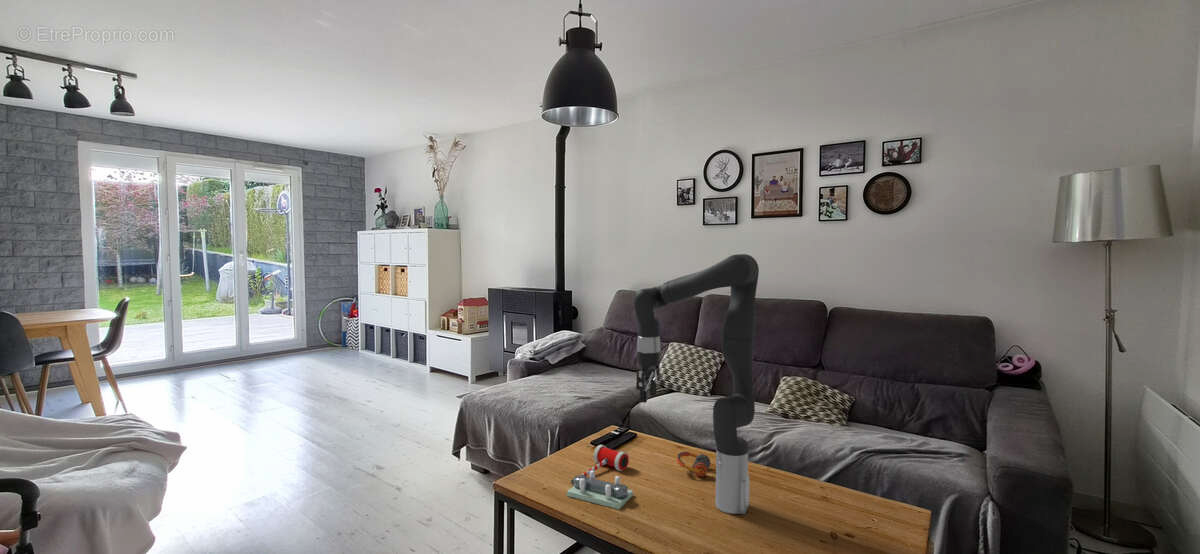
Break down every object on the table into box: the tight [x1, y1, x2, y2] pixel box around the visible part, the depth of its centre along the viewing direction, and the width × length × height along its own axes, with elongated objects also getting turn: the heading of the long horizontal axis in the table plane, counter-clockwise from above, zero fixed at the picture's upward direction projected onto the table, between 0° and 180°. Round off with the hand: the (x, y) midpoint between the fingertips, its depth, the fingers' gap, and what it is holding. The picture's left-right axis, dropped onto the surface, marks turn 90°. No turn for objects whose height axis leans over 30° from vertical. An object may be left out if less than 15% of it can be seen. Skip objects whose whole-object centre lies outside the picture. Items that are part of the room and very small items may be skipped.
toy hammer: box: [570, 444, 630, 486], centre depth 176 cm, size 23×12×6 cm, turn 139°
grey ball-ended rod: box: [573, 474, 629, 499], centre depth 160 cm, size 18×4×3 cm, turn 62°
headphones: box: [676, 451, 716, 478], centre depth 177 cm, size 17×5×20 cm
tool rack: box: [566, 470, 634, 510], centre depth 160 cm, size 18×10×6 cm, turn 62°
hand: (648, 398), depth 167 cm, fingers open, 8 cm apart
